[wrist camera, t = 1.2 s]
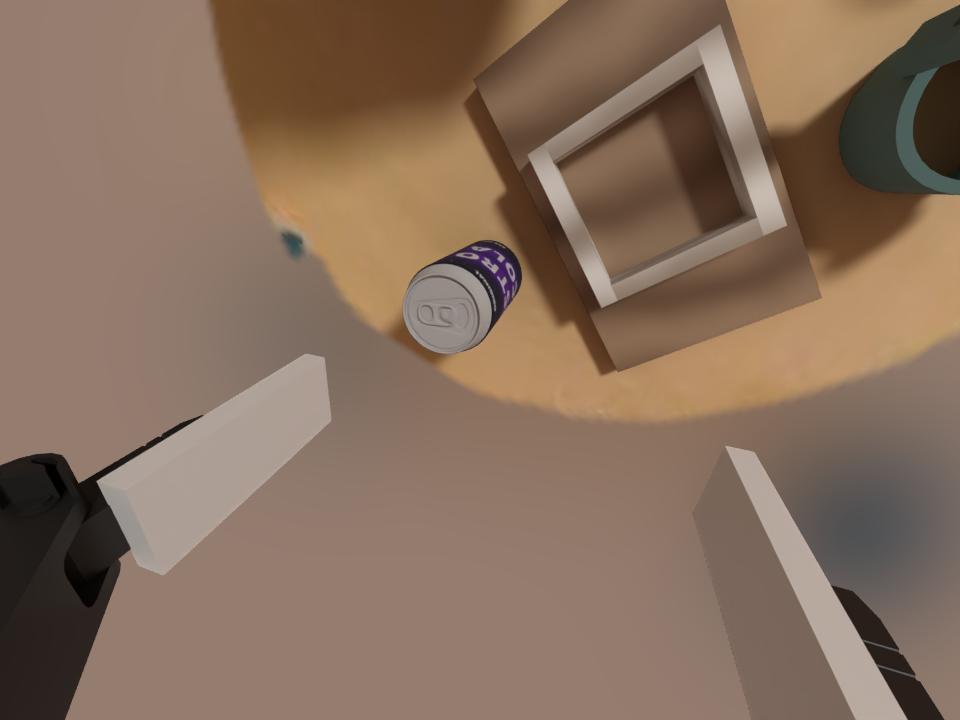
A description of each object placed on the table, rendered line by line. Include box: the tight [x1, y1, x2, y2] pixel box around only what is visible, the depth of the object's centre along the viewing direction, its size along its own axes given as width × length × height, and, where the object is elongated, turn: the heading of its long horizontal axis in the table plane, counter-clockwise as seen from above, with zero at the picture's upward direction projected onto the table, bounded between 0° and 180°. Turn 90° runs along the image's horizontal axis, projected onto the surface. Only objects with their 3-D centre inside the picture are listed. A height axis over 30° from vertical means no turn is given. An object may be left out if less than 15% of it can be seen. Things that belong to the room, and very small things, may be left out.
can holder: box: [473, 0, 822, 372], centre depth 25 cm, size 24×14×4 cm, turn 31°
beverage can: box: [403, 240, 522, 354], centre depth 27 cm, size 6×6×12 cm
